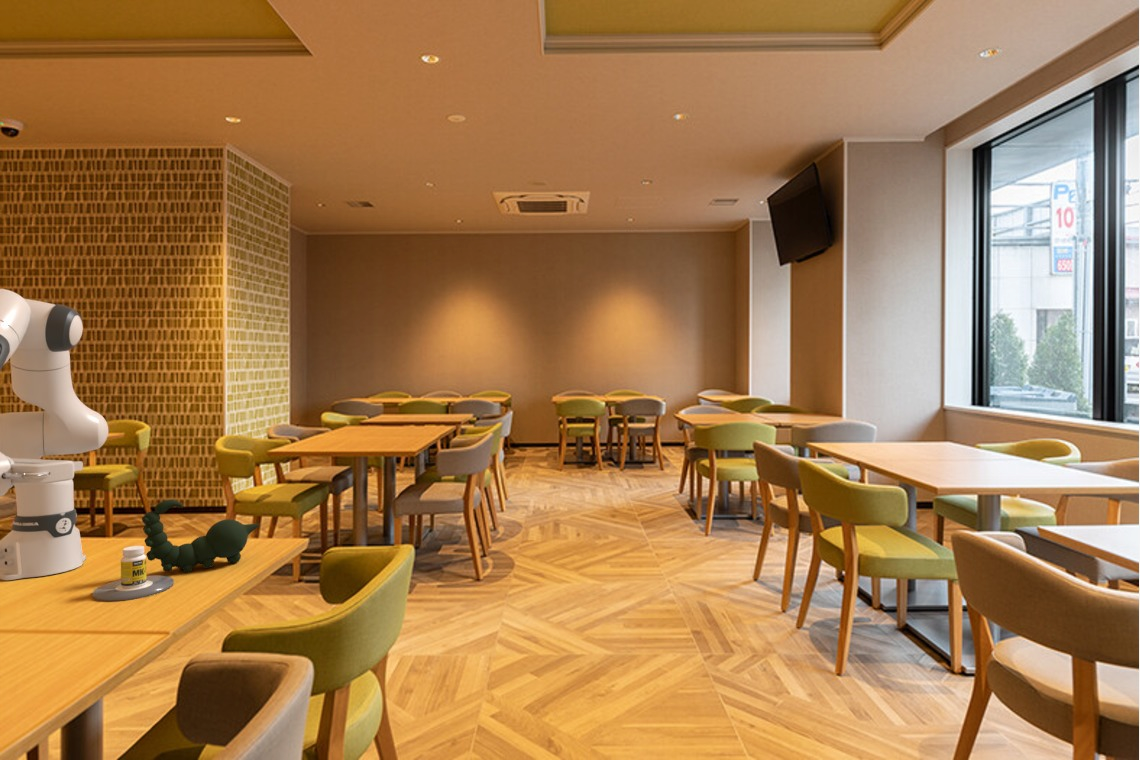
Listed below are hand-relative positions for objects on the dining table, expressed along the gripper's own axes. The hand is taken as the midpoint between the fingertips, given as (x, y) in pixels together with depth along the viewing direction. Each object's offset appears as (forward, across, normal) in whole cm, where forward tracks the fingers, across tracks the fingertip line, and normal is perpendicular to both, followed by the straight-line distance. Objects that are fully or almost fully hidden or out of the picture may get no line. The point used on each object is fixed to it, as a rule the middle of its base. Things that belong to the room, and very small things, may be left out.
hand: (62, 464), depth 134 cm
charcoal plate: (+15, 0, +30) cm, 33 cm away
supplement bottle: (+15, 0, +29) cm, 33 cm away
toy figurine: (+33, -1, +30) cm, 45 cm away
